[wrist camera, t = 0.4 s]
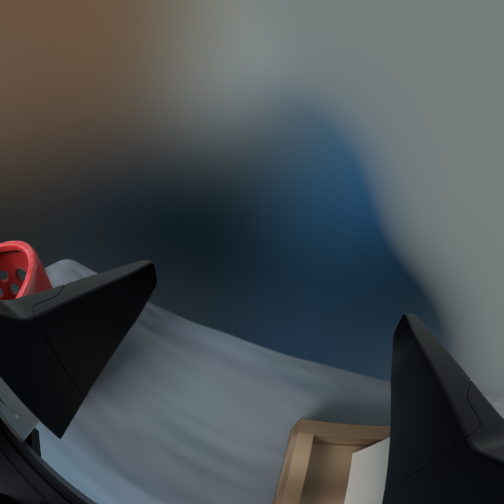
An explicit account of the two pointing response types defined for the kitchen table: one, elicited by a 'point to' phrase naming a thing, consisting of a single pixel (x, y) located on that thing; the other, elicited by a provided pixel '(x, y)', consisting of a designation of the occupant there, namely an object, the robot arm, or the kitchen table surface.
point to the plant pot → (25, 258)
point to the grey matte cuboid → (368, 474)
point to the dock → (322, 460)
